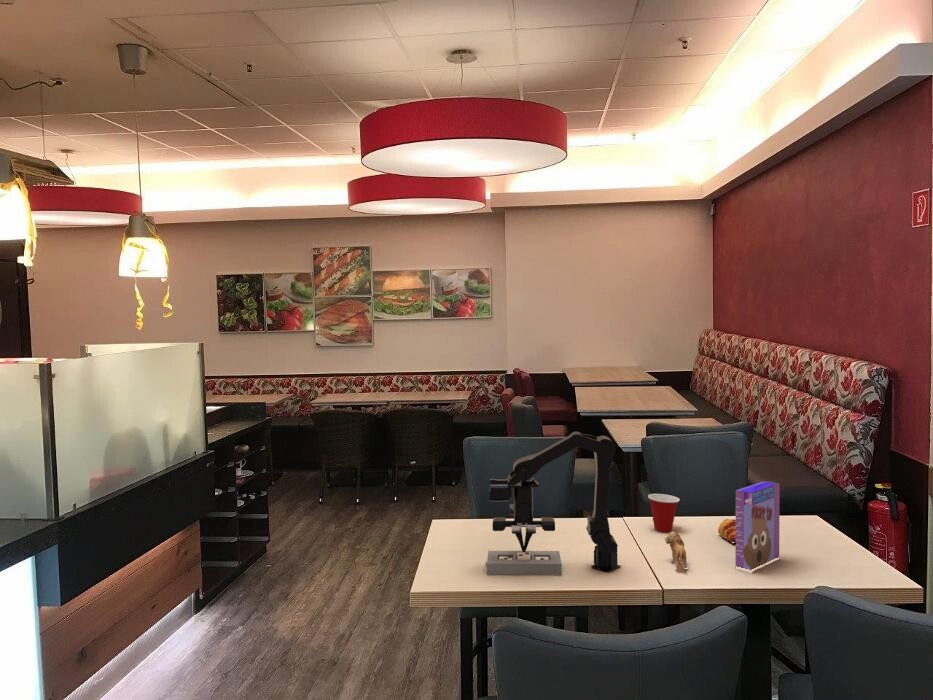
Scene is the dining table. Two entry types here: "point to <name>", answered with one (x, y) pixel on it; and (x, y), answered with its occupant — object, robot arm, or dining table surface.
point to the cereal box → (757, 524)
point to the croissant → (728, 529)
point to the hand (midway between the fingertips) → (524, 551)
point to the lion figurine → (677, 549)
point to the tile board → (524, 563)
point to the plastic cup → (663, 511)
